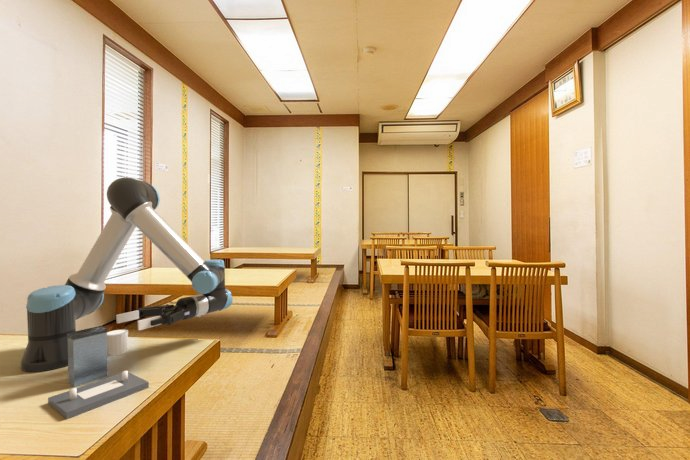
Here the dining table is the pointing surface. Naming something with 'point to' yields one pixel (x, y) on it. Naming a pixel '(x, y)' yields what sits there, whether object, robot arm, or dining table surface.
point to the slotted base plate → (96, 394)
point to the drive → (87, 355)
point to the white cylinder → (117, 342)
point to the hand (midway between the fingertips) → (127, 322)
